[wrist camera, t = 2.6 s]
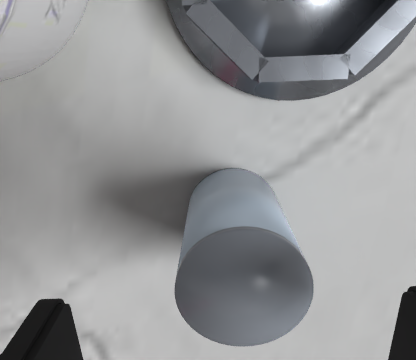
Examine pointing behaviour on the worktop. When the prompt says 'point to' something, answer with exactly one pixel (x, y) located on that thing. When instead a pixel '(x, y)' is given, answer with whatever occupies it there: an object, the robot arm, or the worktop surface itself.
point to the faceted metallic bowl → (292, 41)
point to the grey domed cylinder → (240, 263)
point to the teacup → (35, 32)
